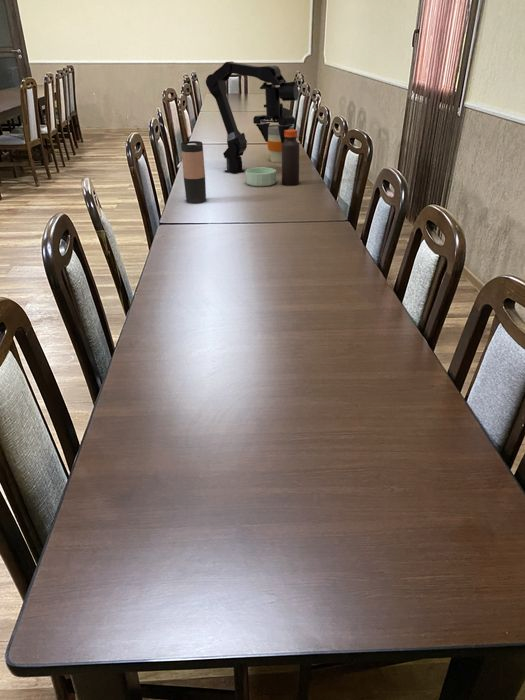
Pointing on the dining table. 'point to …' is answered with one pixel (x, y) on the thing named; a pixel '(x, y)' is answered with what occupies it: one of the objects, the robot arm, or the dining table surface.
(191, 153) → the travel mug
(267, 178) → the basin
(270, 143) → the reusable coffee cup
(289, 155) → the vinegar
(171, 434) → the dining table surface
